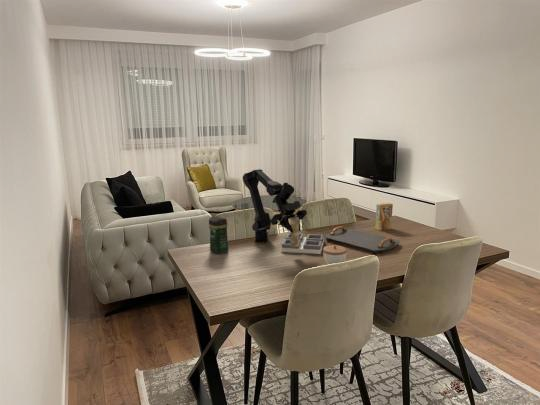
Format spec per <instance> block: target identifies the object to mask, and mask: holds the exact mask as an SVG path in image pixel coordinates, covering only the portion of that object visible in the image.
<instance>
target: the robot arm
mask: <svg viewBox="0 0 540 405" xmlns="http://www.w3.org/2000/svg"><path fill="white" fill-rule="evenodd" d="M242 182H243V184H244V186H245V187H246V188H247V189H248V191H249V194H250V197H251V200H252V201H251V202H252V204H253V208H254V209H253V210H254V212H255V216H254V219H253V220H254V223H253V224H252V226H251V227H252V228H251V229H252V231H253V232H254V235H255V237H254V238H255V239H254V242H255V243H267V242H268V241H269V231H268V230H270V229H271V225H272V226H275V225H279V226H282V227H283V228H284V229H286V230H288V231H289V233H293V229H292V227H291V225H290V222H289V221H290V218H291V217H298V218H299V232H301V231H302V230H301V221H302V220H304V218H305V217H306V216H307V215H308V212H307V210H306V209H299V208H300V207H301V206H302V205H301V203H300V201H299V200H296V201H293V202H291V203H290V202H289V201H288V200H289V199H290V198H291V197H292V195H293V194H294V192H295V187H294V186H292V185H291V184H289V183H288V182H283V184H282V183H280V182H278V181H275V180H273V179H271V177H269V176H268V175H267V174H266V173H265V172H264V171H263V170H262V169H261V168H258V169H253V170H251V171H249V172H246V173H243V175H242ZM259 183H260V184H261V185H263V186H264V187H265V189H266V190H265V191H266V193H267V194H268V195H269V196H270V197H273V199H272V203H273V204H276V206H277V208H278V209H277V212H278V213H276V214H274V215H273V216H272V218H271V216H270V213H269V212H266V211H265V209H264V204H263V202H262V196H261V194H260V190H259V187H258V186H259ZM274 196H275V197H274ZM296 210H297V212H296Z"/></svg>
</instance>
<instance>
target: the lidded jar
mask: <svg viewBox="0 0 540 405" xmlns="http://www.w3.org/2000/svg"><path fill="white" fill-rule="evenodd" d="M322 251H323V253H322V254H323V259H324V261H325V263H326V264H327V265H328V264H332V263H338V262H343V261H344V262H345V261H346V258H347V248H346V247H344V246H342V245H336V244H335V245H334V244H333V245H332V244H331V245H326V246H323V247H322Z"/></svg>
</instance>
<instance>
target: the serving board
mask: <svg viewBox="0 0 540 405" xmlns="http://www.w3.org/2000/svg"><path fill="white" fill-rule="evenodd" d="M324 239H325V240H326V241H327V242H330V241H335V242H338V243H342V244H347V245H350V246H353V247H357V248H360V249H365V250H368V251H371V252H373V253H374V255H378V254H379V252H382V251H388V250H390V249H393V248H395V247H397V246H399V244H400V241H399V240H398V239H395V238H391V237H388V236H385V235H378V234H375V233H371V232H366V231H362V230H359V229H355V228H354V229H353V228H346V227H344V226H341V225H340V226H337V227H335V228H333V229H332V231H331V232H329V233H327V234H326V235H325V236H324Z"/></svg>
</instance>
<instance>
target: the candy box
mask: <svg viewBox="0 0 540 405" xmlns="http://www.w3.org/2000/svg"><path fill="white" fill-rule="evenodd" d="M393 206H394V205H393V203H391V202H383V203H376V207H375V208H376V209H375V210H376V211H375V229H376V230H378V231H383V230H384V231H385V230H391V229H392V223H393V221H392V220H393V209H394V208H393Z"/></svg>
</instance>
